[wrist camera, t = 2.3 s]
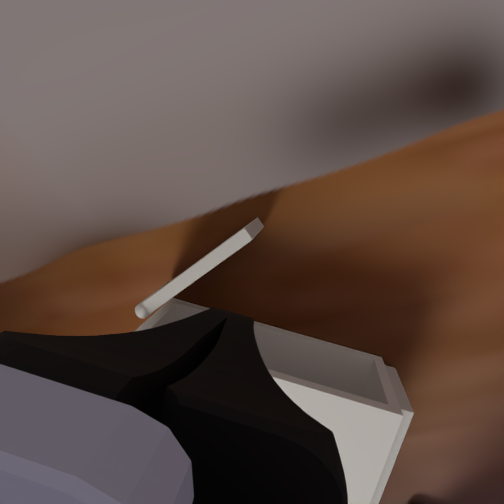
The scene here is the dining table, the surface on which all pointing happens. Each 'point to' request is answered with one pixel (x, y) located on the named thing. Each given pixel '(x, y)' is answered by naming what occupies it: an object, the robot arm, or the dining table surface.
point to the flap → (199, 268)
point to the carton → (332, 396)
